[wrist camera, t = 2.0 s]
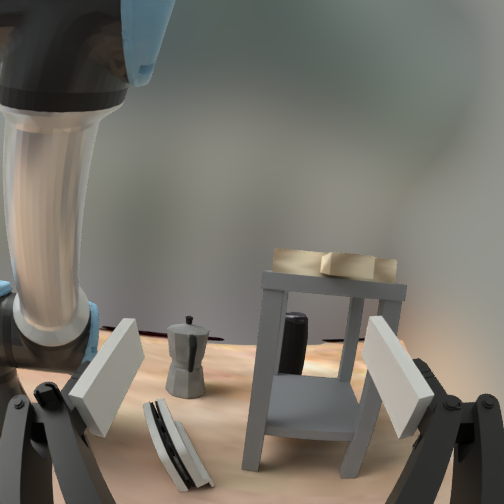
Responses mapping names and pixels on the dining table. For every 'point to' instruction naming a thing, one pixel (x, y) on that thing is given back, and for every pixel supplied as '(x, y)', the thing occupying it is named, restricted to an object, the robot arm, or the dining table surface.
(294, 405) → the side table
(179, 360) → the coffeepot
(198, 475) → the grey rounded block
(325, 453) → the dining table surface
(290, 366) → the portable speaker
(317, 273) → the cutting board
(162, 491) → the dining table surface
